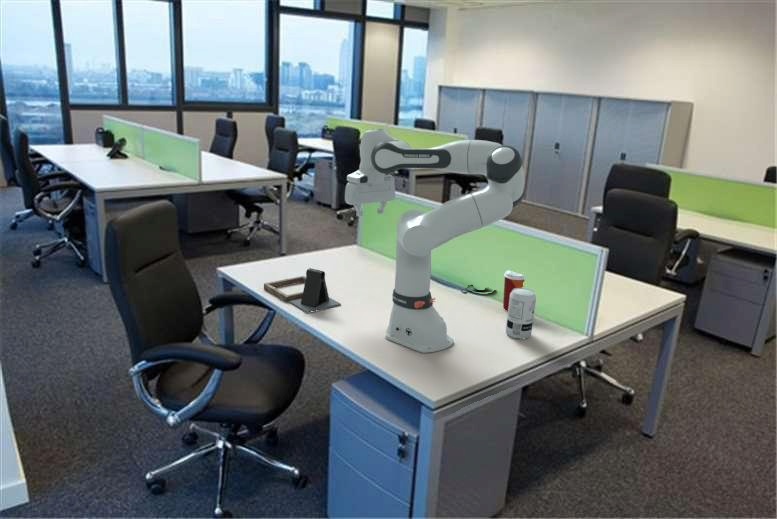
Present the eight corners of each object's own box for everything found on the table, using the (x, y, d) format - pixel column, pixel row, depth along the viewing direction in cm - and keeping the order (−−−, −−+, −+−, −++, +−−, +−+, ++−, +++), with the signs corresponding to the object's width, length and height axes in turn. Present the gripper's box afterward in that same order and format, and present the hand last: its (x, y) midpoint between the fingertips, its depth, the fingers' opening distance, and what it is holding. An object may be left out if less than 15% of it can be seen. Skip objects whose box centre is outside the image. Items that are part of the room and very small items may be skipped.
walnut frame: (327, 293, 221) (327, 288, 220) (286, 302, 210) (286, 296, 209) (303, 280, 233) (303, 275, 232) (263, 288, 222) (263, 283, 221)
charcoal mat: (340, 305, 210) (340, 303, 210) (307, 313, 201) (307, 311, 201) (322, 295, 218) (322, 293, 218) (289, 302, 210) (289, 300, 210)
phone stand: (315, 296, 215) (316, 265, 211) (329, 300, 212) (330, 268, 209) (300, 304, 207) (300, 271, 204) (314, 307, 204) (315, 275, 201)
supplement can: (503, 329, 197) (508, 286, 193) (528, 330, 197) (533, 288, 192) (507, 339, 189) (512, 295, 185) (533, 340, 189) (539, 296, 185)
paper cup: (515, 315, 209) (520, 277, 205) (496, 309, 214) (500, 272, 210) (525, 309, 215) (530, 272, 211) (506, 303, 220) (510, 268, 216)
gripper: (388, 173, 215) (386, 210, 219) (342, 176, 202) (341, 215, 206) (400, 175, 210) (397, 213, 214) (353, 179, 198) (352, 219, 202)
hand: (369, 214), depth 210 cm, fingers open, 8 cm apart
